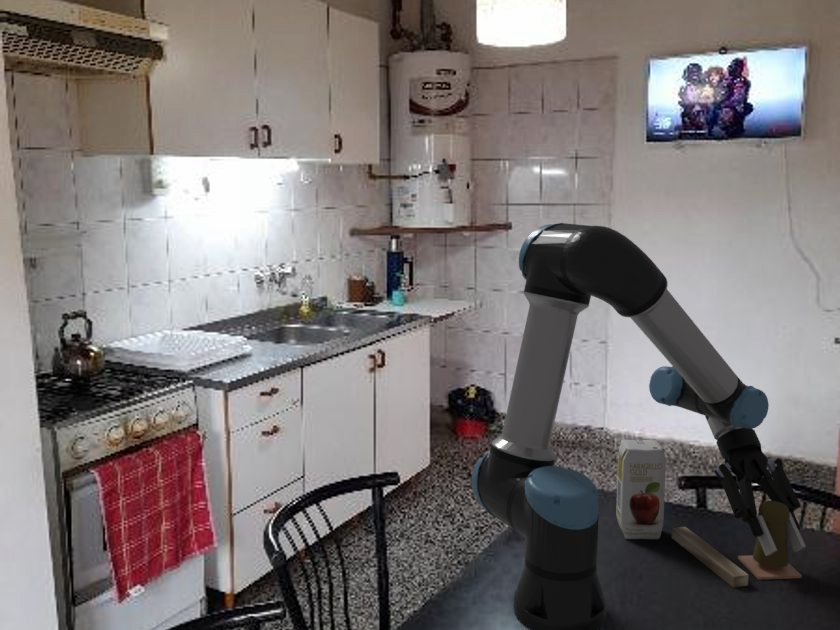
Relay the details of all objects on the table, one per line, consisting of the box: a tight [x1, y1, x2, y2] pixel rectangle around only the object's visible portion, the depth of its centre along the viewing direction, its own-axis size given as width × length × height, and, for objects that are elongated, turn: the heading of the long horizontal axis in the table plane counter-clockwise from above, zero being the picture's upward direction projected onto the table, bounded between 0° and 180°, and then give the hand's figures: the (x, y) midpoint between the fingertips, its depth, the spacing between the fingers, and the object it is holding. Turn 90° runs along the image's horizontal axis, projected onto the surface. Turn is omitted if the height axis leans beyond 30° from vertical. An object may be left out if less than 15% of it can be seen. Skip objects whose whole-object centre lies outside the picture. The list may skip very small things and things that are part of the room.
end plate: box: [737, 554, 803, 581], centre depth 141 cm, size 8×8×1 cm
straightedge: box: [671, 526, 750, 588], centre depth 144 cm, size 3×20×2 cm, turn 13°
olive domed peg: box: [752, 500, 790, 568], centre depth 140 cm, size 6×6×11 cm
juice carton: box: [615, 438, 667, 540], centre depth 154 cm, size 8×9×19 cm
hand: (785, 551), depth 137 cm, fingers closed on olive domed peg, 5 cm apart
